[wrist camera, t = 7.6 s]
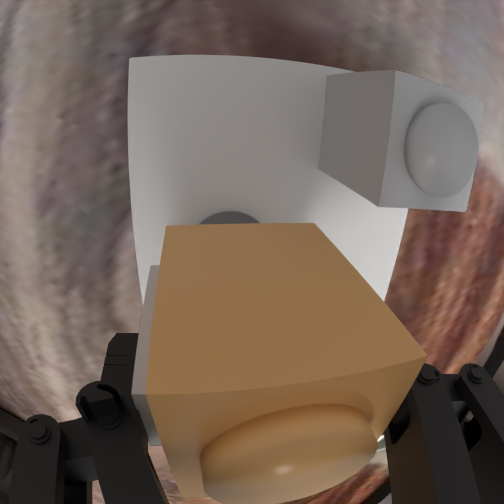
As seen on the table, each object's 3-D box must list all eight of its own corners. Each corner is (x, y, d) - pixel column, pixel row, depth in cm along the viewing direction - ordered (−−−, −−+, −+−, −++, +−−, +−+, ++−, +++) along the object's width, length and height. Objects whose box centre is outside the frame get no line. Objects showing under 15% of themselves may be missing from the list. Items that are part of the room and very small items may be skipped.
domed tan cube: (176, 342, 15) (184, 518, 7) (166, 225, 12) (144, 430, 4) (296, 333, 16) (363, 487, 8) (314, 222, 13) (445, 379, 6)
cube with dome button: (318, 169, 16) (386, 213, 10) (326, 75, 14) (405, 69, 8) (395, 175, 17) (474, 216, 11) (405, 92, 15) (494, 104, 9)
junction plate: (149, 328, 20) (143, 400, 15) (133, 60, 13) (101, 39, 7) (372, 311, 23) (412, 364, 18) (415, 89, 16) (487, 98, 10)
